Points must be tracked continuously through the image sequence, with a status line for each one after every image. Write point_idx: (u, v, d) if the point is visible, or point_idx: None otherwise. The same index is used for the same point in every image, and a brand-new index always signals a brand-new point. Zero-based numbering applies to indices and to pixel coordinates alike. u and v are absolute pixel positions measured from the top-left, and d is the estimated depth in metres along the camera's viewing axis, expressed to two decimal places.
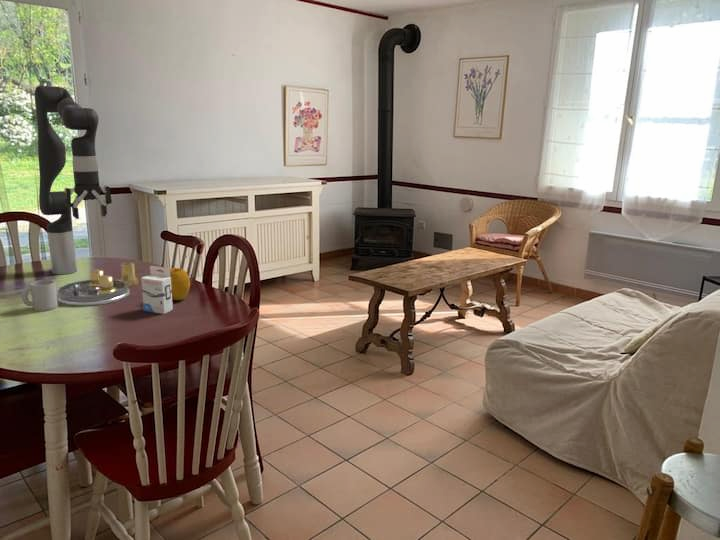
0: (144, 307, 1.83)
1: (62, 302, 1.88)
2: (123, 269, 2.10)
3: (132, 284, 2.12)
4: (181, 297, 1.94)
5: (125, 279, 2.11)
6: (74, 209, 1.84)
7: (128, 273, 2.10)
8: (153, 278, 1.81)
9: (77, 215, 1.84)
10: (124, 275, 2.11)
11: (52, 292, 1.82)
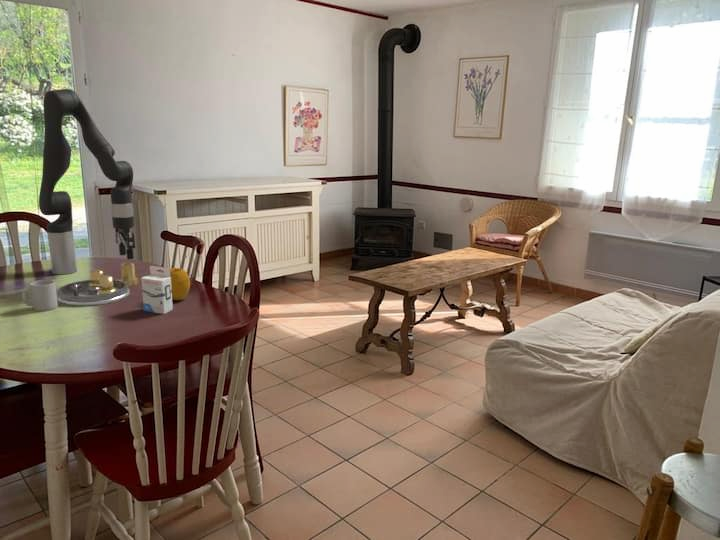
0: (144, 307, 1.83)
1: (62, 302, 1.88)
2: (123, 269, 2.10)
3: (132, 284, 2.12)
4: (181, 297, 1.94)
5: (125, 279, 2.11)
6: None
7: (128, 273, 2.10)
8: (153, 278, 1.81)
9: None
10: (124, 275, 2.11)
11: (52, 292, 1.82)
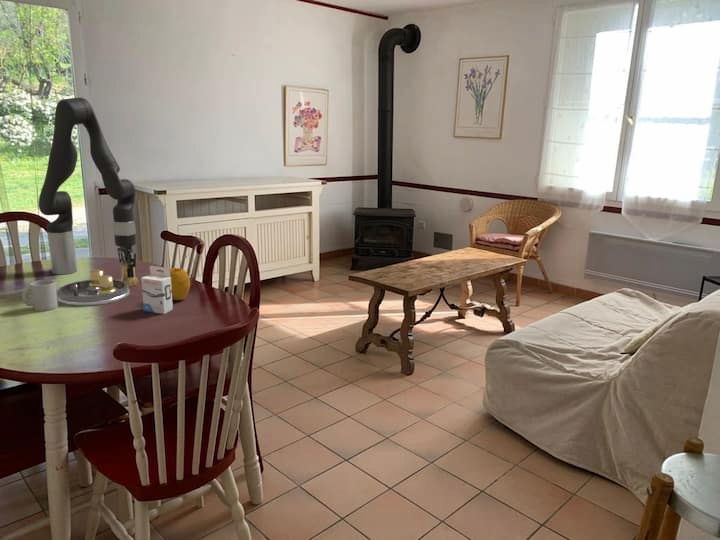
0: (144, 307, 1.83)
1: (62, 302, 1.88)
2: (123, 269, 2.10)
3: (132, 284, 2.12)
4: (181, 297, 1.94)
5: (125, 279, 2.11)
6: None
7: None
8: (153, 278, 1.81)
9: None
10: (124, 275, 2.11)
11: (52, 292, 1.82)
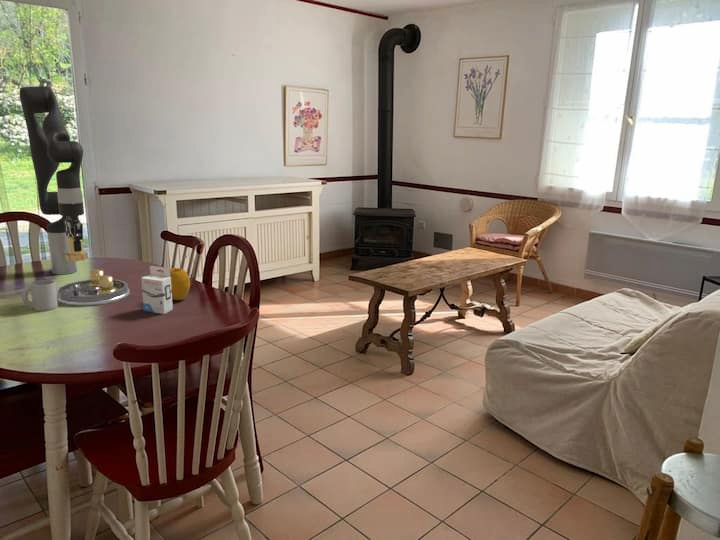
0: (144, 307, 1.83)
1: (62, 302, 1.88)
2: (69, 242, 1.88)
3: (80, 259, 1.90)
4: (181, 297, 1.94)
5: (72, 253, 1.89)
6: None
7: None
8: (153, 278, 1.81)
9: None
10: (70, 249, 1.89)
11: (52, 292, 1.82)
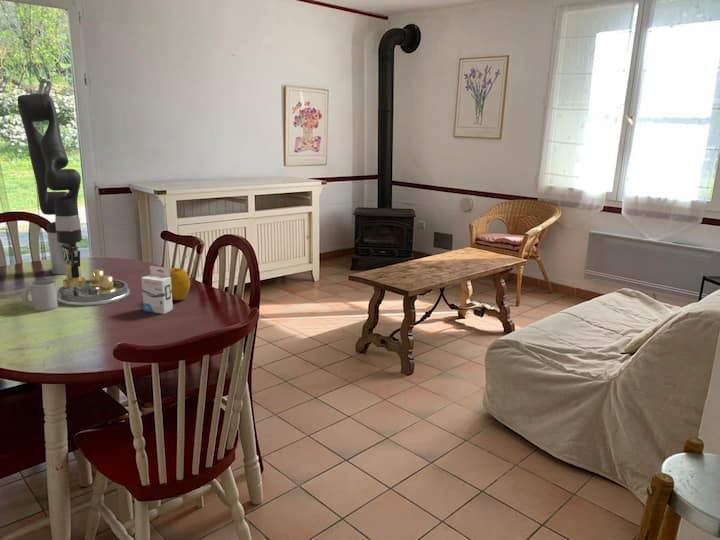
0: (144, 307, 1.83)
1: (62, 302, 1.88)
2: (66, 268, 1.90)
3: (77, 285, 1.91)
4: (181, 297, 1.94)
5: (69, 279, 1.90)
6: None
7: None
8: (153, 278, 1.81)
9: (78, 273, 1.91)
10: (68, 275, 1.90)
11: (52, 292, 1.82)
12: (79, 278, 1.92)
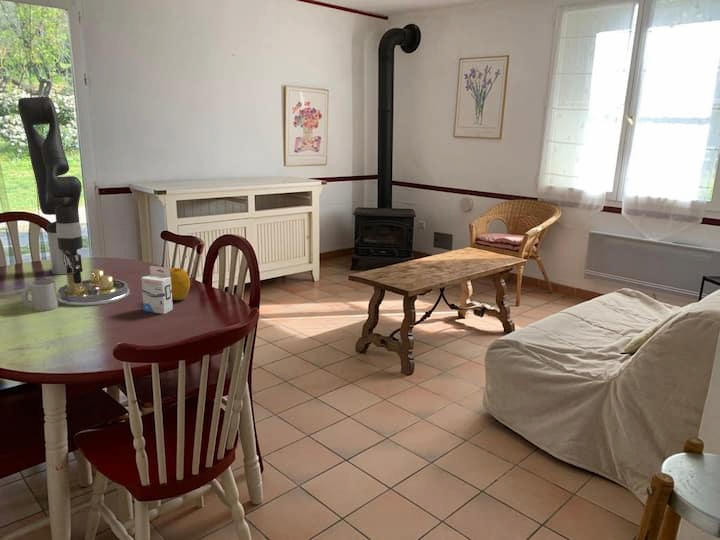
0: (144, 307, 1.83)
1: (62, 302, 1.88)
2: (68, 279, 1.91)
3: None
4: (181, 297, 1.94)
5: (71, 290, 1.92)
6: (79, 274, 1.89)
7: (74, 284, 1.91)
8: (153, 278, 1.81)
9: (80, 279, 1.90)
10: (70, 286, 1.91)
11: (52, 292, 1.82)
12: (80, 289, 1.93)
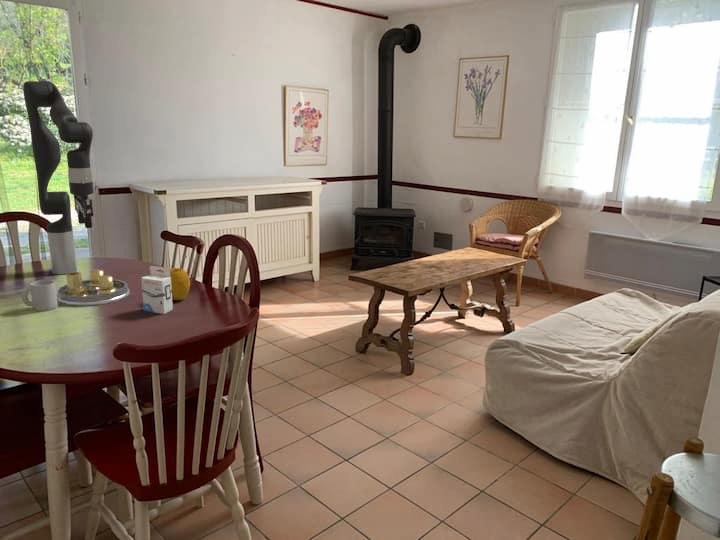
0: (144, 307, 1.83)
1: (62, 302, 1.88)
2: (68, 279, 1.91)
3: None
4: (181, 297, 1.94)
5: (71, 290, 1.92)
6: (90, 218, 1.94)
7: (74, 284, 1.91)
8: (153, 278, 1.81)
9: (91, 224, 1.95)
10: (70, 286, 1.91)
11: (52, 292, 1.82)
12: (80, 289, 1.93)
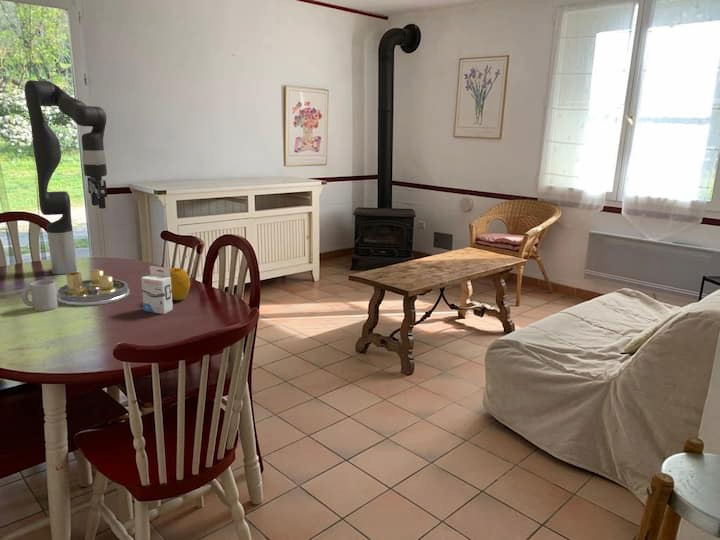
0: (144, 307, 1.83)
1: (62, 302, 1.88)
2: (68, 279, 1.91)
3: None
4: (181, 297, 1.94)
5: (71, 290, 1.92)
6: None
7: (74, 284, 1.91)
8: (153, 278, 1.81)
9: (105, 204, 2.02)
10: (70, 286, 1.91)
11: (52, 292, 1.82)
12: (80, 289, 1.93)
